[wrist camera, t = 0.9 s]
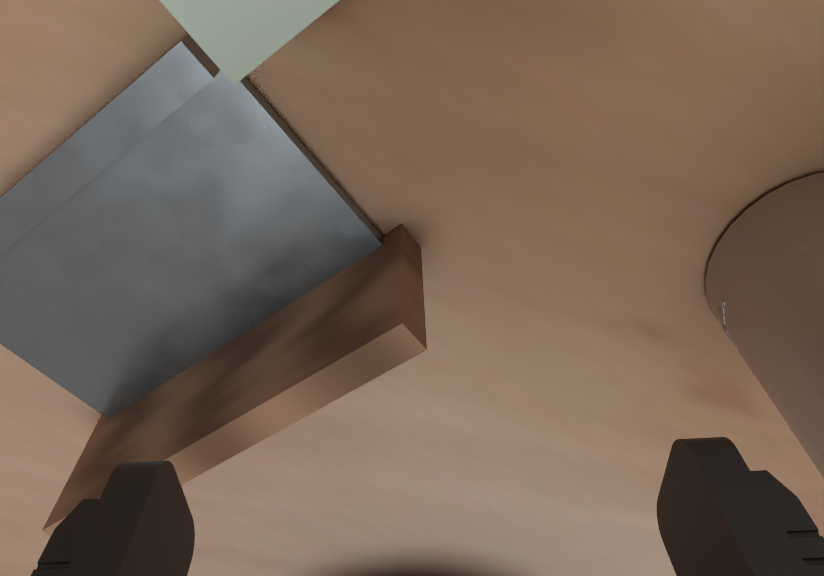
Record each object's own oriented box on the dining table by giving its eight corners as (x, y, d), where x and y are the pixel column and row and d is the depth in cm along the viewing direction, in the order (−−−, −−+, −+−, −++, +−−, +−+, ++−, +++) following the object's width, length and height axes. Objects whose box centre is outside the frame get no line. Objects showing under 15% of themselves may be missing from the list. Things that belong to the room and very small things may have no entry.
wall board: (401, 224, 28) (402, 323, 22) (420, 248, 29) (426, 349, 23) (101, 415, 34) (42, 530, 29) (123, 430, 35) (70, 545, 29)
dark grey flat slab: (200, 23, 23) (180, 40, 21) (383, 235, 28) (381, 266, 26) (-82, 268, 29) (-119, 301, 27) (113, 407, 34) (95, 443, 32)
